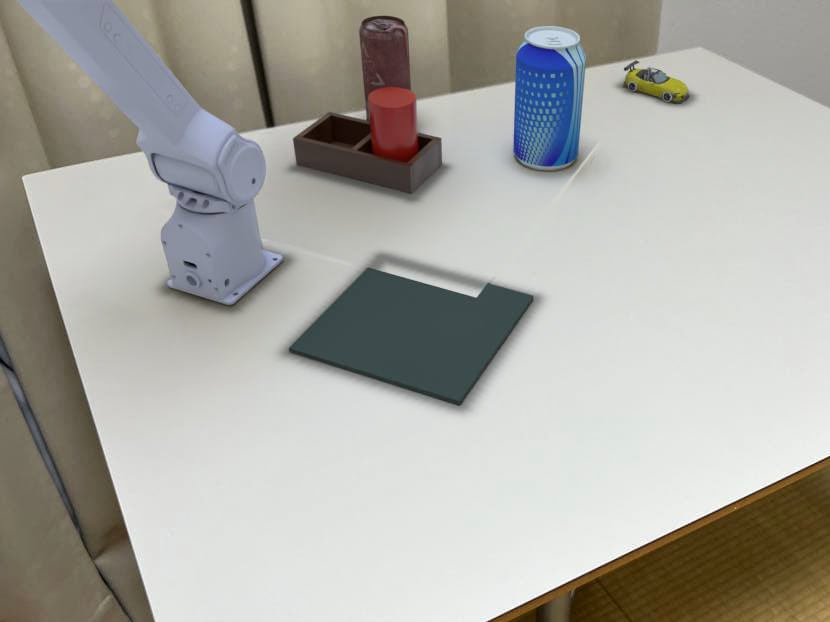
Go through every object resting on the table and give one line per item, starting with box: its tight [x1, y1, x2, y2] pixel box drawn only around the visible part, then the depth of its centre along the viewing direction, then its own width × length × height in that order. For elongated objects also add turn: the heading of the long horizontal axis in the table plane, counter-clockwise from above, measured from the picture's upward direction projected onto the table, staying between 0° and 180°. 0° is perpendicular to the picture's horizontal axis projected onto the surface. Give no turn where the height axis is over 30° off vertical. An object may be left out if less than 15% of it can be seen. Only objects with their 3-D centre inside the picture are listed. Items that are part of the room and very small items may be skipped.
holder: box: [292, 111, 443, 195], centre depth 111 cm, size 8×16×4 cm, turn 68°
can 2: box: [368, 87, 419, 163], centre depth 107 cm, size 6×6×10 cm
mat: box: [288, 267, 534, 405], centre depth 89 cm, size 18×18×1 cm
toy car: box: [622, 60, 690, 104], centre depth 133 cm, size 5×10×3 cm, turn 57°
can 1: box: [358, 15, 412, 121], centre depth 116 cm, size 6×6×14 cm
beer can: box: [512, 25, 587, 171], centre depth 110 cm, size 8×8×16 cm
